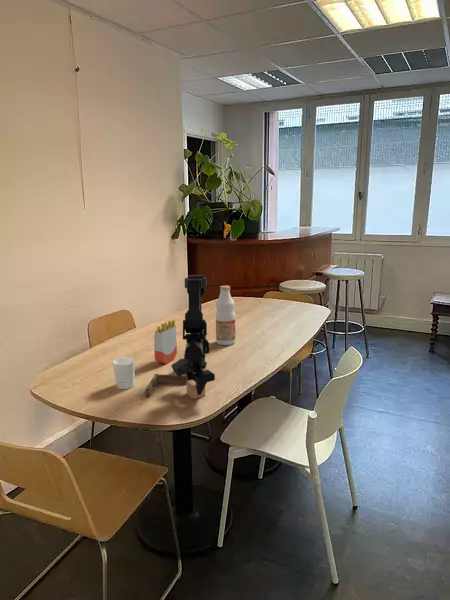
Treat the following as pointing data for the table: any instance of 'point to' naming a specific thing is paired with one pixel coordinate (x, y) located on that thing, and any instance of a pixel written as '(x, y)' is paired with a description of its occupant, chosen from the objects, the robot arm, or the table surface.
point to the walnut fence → (164, 381)
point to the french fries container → (165, 342)
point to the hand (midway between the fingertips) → (196, 391)
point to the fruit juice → (225, 318)
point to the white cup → (124, 372)
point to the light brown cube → (193, 389)
